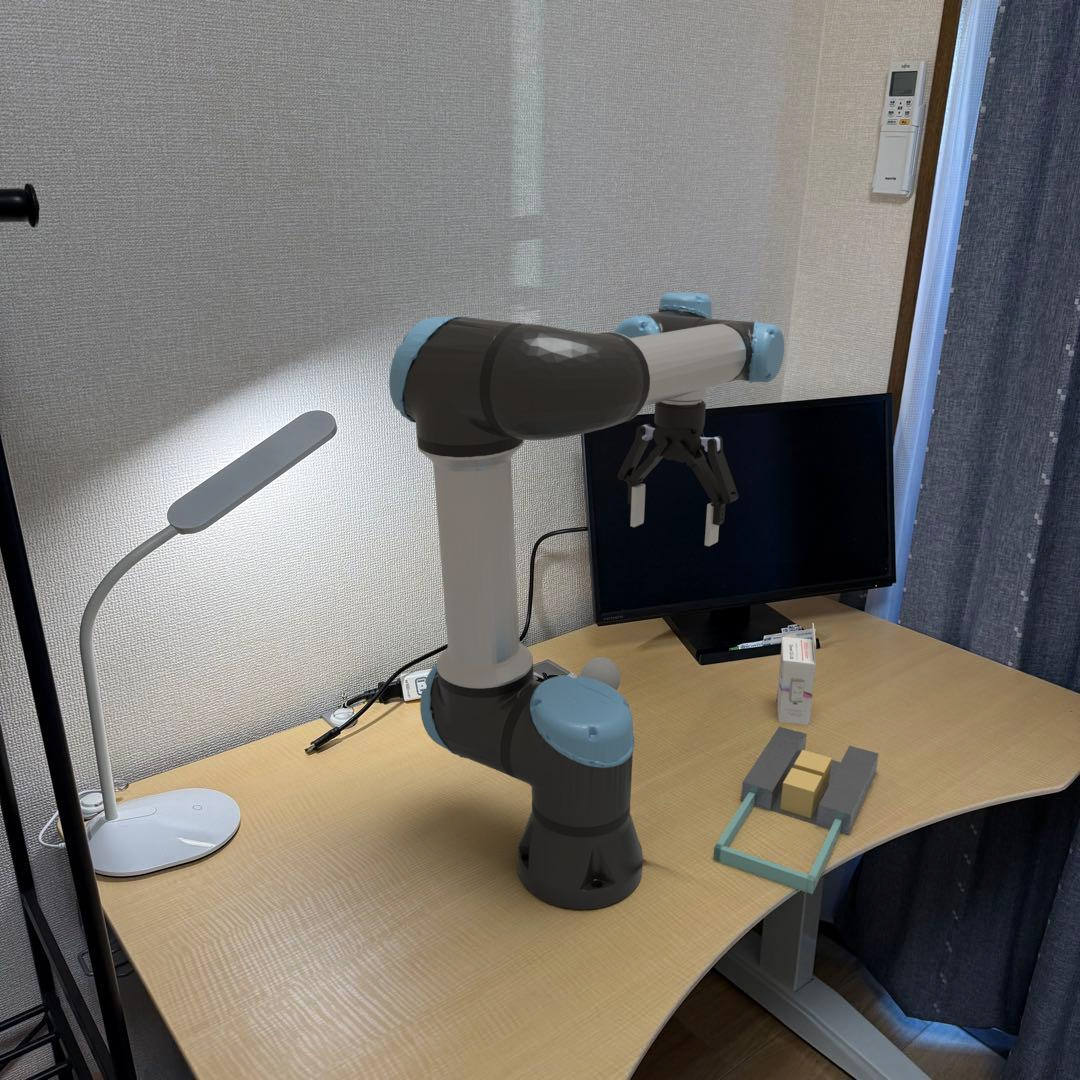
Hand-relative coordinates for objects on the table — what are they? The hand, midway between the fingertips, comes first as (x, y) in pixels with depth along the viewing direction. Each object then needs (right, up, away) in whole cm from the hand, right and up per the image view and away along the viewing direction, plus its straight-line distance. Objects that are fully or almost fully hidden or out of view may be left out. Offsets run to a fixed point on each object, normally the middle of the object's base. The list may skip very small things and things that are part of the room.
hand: (673, 534), depth 150 cm
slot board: (+16, -35, -20) cm, 43 cm away
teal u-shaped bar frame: (+9, -40, -31) cm, 51 cm away
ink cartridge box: (+19, -29, 0) cm, 34 cm away
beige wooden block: (+16, -34, -20) cm, 43 cm away
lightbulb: (-12, -29, -2) cm, 32 cm away
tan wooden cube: (+13, -36, -24) cm, 45 cm away
